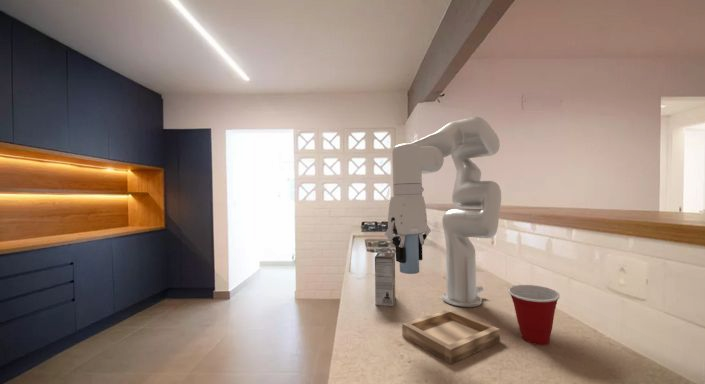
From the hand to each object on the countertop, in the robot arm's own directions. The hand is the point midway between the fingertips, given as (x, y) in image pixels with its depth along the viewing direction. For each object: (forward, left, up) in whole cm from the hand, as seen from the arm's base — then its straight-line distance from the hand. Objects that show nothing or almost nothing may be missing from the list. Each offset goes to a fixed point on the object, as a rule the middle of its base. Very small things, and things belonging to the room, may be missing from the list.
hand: (409, 260), depth 73 cm
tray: (-7, +7, -19) cm, 21 cm away
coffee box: (-10, -22, -19) cm, 31 cm away
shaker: (0, 0, -3) cm, 3 cm away
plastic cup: (-24, +19, -19) cm, 36 cm away
